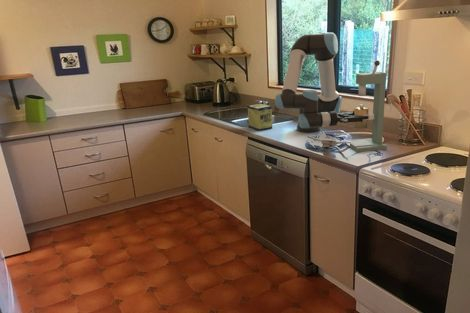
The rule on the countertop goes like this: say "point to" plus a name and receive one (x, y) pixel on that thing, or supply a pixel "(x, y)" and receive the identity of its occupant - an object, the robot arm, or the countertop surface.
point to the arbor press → (378, 110)
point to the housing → (359, 112)
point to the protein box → (260, 117)
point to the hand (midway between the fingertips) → (370, 115)
